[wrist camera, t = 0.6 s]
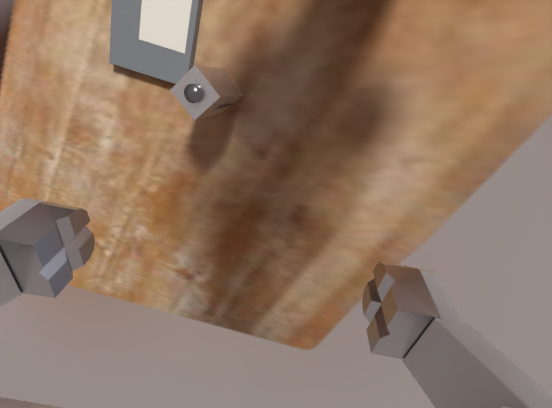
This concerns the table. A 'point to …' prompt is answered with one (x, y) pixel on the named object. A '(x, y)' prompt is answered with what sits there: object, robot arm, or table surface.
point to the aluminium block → (206, 91)
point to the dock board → (155, 36)
